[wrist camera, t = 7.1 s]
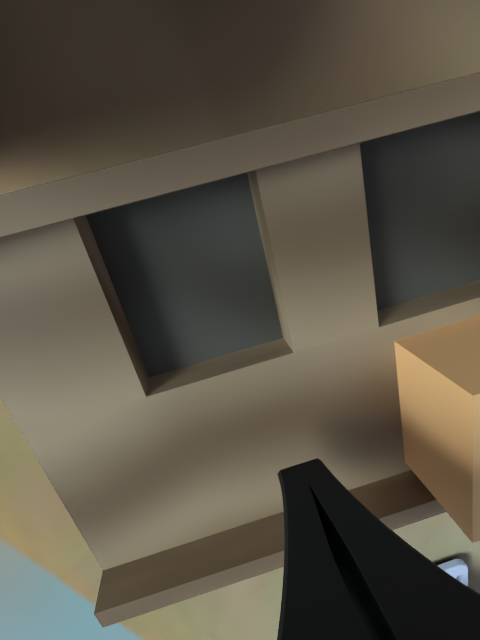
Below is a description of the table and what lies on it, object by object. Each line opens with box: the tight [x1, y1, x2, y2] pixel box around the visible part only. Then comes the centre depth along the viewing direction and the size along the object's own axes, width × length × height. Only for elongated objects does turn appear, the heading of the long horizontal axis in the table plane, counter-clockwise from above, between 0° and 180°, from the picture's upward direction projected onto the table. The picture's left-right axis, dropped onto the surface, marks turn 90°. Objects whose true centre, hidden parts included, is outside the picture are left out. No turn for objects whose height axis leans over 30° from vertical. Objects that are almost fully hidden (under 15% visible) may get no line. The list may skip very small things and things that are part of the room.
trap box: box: [0, 72, 480, 627], centre depth 12 cm, size 14×20×3 cm
